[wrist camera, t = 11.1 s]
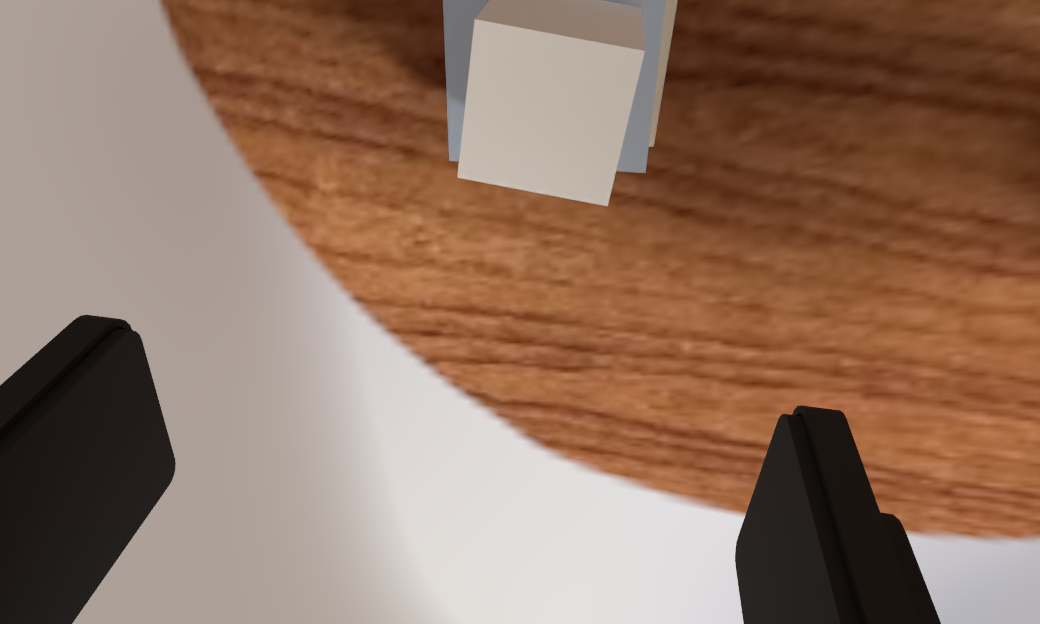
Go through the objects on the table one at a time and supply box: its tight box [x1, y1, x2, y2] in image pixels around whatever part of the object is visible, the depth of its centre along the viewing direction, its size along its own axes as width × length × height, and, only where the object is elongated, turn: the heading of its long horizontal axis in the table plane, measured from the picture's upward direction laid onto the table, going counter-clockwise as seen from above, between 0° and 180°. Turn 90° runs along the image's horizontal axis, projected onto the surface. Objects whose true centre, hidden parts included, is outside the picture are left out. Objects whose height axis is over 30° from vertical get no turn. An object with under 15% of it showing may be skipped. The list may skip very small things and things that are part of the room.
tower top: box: [443, 0, 666, 173], centre depth 29 cm, size 8×8×4 cm
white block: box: [457, 0, 645, 206], centre depth 25 cm, size 5×5×6 cm
